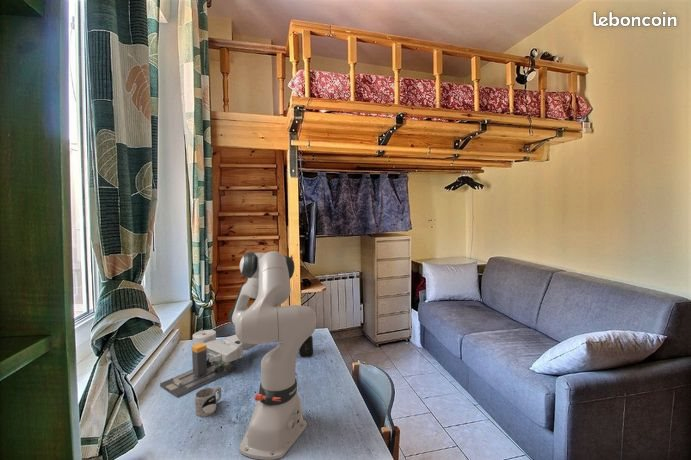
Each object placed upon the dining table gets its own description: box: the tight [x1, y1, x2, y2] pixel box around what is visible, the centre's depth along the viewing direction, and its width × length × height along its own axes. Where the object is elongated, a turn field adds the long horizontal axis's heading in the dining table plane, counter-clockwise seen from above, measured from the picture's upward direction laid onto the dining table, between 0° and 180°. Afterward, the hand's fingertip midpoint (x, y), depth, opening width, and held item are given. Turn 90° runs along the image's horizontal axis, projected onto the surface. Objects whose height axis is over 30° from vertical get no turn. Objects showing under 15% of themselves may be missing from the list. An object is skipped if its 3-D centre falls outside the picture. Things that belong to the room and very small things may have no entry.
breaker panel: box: [159, 359, 237, 398], centre depth 133 cm, size 26×14×3 cm, turn 145°
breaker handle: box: [191, 343, 208, 377], centre depth 133 cm, size 4×4×12 cm
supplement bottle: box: [298, 335, 314, 358], centre depth 153 cm, size 7×7×12 cm
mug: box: [194, 386, 222, 418], centre depth 112 cm, size 10×7×7 cm
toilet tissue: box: [192, 329, 217, 359], centre depth 156 cm, size 11×12×10 cm
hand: (202, 357), depth 134 cm, fingers open, 8 cm apart
